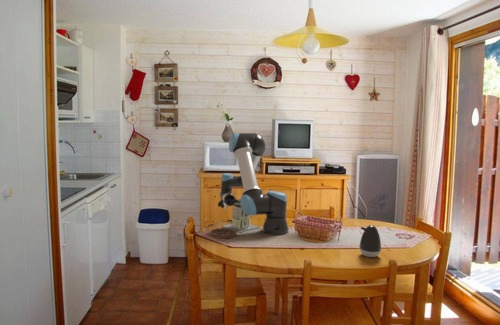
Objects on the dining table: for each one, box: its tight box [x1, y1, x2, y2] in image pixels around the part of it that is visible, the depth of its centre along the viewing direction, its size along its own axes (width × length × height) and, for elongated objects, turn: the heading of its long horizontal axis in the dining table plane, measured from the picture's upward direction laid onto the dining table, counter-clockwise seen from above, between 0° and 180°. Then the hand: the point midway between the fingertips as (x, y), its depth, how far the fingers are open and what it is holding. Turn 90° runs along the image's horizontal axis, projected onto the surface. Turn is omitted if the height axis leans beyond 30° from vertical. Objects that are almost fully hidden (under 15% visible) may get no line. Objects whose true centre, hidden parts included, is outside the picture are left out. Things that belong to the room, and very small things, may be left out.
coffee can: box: [231, 202, 251, 230], centre depth 235 cm, size 10×10×14 cm
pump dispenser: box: [359, 224, 382, 258], centre depth 194 cm, size 10×10×15 cm
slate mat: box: [221, 223, 260, 233], centre depth 238 cm, size 16×16×1 cm
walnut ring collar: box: [209, 227, 237, 239], centre depth 222 cm, size 14×14×2 cm
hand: (236, 207), depth 246 cm, fingers open, 13 cm apart
